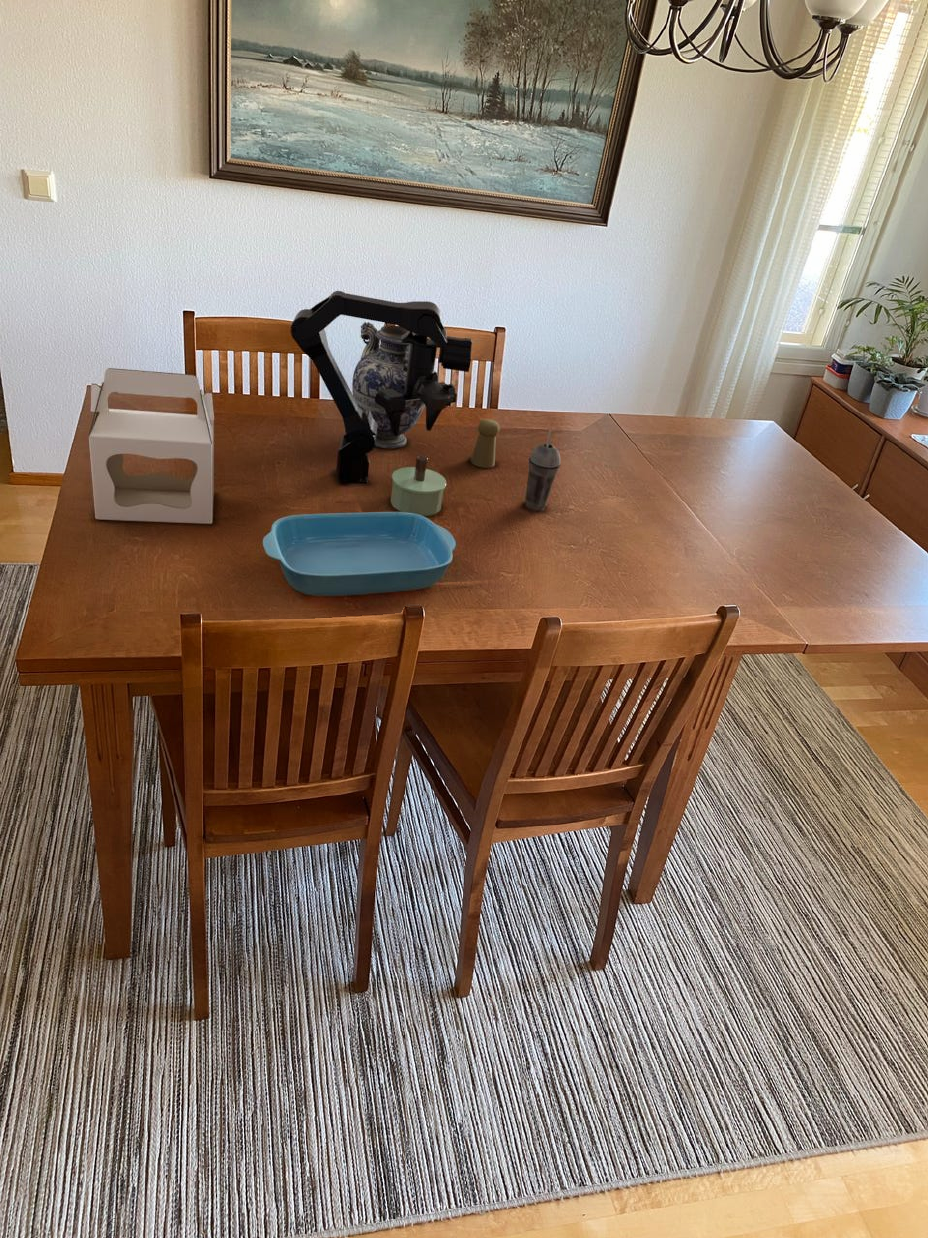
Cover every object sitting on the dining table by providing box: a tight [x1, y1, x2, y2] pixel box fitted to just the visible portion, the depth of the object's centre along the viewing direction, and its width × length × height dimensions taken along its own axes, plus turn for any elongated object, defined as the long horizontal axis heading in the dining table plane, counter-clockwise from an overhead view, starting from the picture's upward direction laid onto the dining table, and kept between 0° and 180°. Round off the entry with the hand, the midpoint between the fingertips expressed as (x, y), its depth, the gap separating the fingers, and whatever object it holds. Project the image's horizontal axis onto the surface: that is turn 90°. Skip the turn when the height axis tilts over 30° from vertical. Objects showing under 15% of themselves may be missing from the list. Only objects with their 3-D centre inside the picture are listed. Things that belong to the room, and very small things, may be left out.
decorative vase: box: [351, 321, 426, 450], centre depth 218 cm, size 21×19×28 cm
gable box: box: [88, 367, 215, 525], centre depth 172 cm, size 22×13×28 cm, turn 102°
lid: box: [391, 455, 447, 494], centre depth 194 cm, size 12×12×6 cm
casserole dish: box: [262, 511, 457, 597], centre depth 170 cm, size 37×22×7 cm, turn 110°
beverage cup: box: [524, 427, 561, 512], centre depth 202 cm, size 7×7×20 cm
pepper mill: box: [470, 418, 501, 469], centre depth 221 cm, size 6×6×11 cm
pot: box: [390, 481, 445, 517], centre depth 197 cm, size 11×11×6 cm
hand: (412, 432), depth 199 cm, fingers open, 9 cm apart
